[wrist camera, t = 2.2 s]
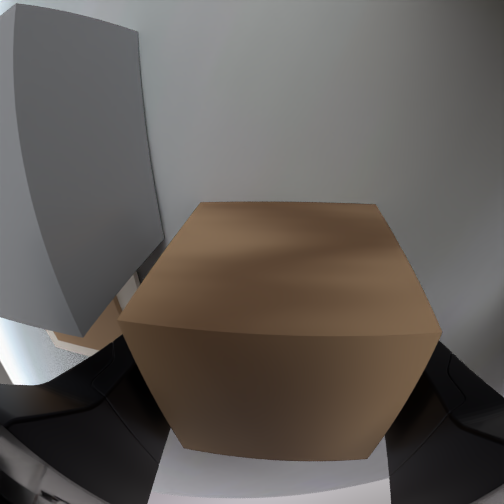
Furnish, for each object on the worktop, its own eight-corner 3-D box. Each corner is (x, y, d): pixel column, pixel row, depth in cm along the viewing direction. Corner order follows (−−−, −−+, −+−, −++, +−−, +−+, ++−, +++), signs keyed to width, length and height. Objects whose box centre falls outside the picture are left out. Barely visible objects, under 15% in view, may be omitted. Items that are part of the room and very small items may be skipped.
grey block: (137, 31, 7) (16, 3, 2) (164, 238, 10) (83, 337, 6) (4, 93, 8) (-90, 117, 4) (33, 242, 11) (-41, 303, 7)
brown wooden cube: (375, 204, 9) (442, 332, 4) (353, 333, 12) (367, 458, 7) (200, 202, 10) (116, 319, 5) (219, 329, 12) (183, 448, 8)
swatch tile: (124, 224, 10) (116, 232, 10) (169, 368, 14) (165, 377, 14) (5, 228, 11) (-3, 234, 11) (58, 343, 15) (53, 350, 15)
